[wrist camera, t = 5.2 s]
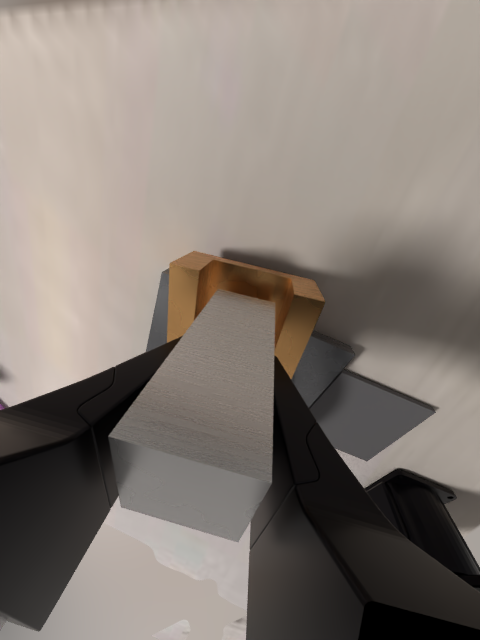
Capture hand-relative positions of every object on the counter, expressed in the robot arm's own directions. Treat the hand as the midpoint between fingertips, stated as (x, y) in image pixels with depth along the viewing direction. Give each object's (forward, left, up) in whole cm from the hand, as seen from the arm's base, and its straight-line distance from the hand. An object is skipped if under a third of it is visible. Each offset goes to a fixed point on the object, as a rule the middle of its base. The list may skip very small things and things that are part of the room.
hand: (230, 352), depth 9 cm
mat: (-13, +6, -6) cm, 16 cm away
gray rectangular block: (0, 0, -3) cm, 3 cm away
